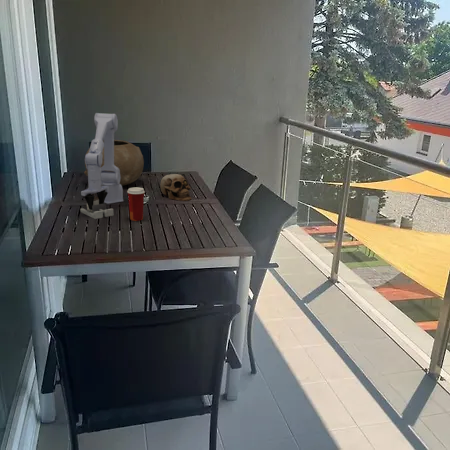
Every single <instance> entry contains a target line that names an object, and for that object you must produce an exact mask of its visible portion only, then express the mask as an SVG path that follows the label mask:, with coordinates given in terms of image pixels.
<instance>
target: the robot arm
mask: <svg viewBox="0 0 450 450" xmlns="http://www.w3.org/2000/svg"><path fill="white" fill-rule="evenodd" d="M93 118H94V119H93V121H94V125H95V127H96V128H95V129H96V131H95V137H94V139H92V140H91V141H90V142H91V143H90V146H89V148H90V150H89V153H88V154H86V153H85V155H86V156H85V157H84V165H85V164H86V168H87V170H88V176H87V182H88V183H87V185H88V187H87V188H86V189H84V190H81V191H80V195H81V196H83V199H85V202H86V205H87V204H88V207H89V209H90V210H92V205H93V201H94V197H95V195H93V194H96V195H97V197H98V198H99V204H104V203H105V204H106V205H110V204H114V203H115V204H116V203H120V202H121V203H122V202H124V201H125V200H124V197H123V196H124V194H123V193H124V191H123V186H121V184H120V170H119V168H118V167H116V166H115V165H114V140H115V132H117V131H118V127H119V124H118V123H119V121H118V116H117V114H116V113H103V112H102V113H101V112H100V113H99V112H95V114H94V117H93ZM103 140H104V142H103ZM103 148H104V166H102V167H101V165H102V157H103V155H102V152H103ZM86 168H85V169H86ZM112 171H114V172H112Z"/></svg>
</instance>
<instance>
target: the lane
mask: <svg viewBox="0 0 450 450" xmlns="http://www.w3.org/2000/svg"><path fill="white" fill-rule="evenodd" d="M104 211H106V212H108V214H105V213H104V214H103V211H96V212H93V213H91V212H89V211H87V209H85V208H80V213H81V214H84V215H86V216H87V217H90V218H92V219H94V220H96V219H102V218H104V217H105V218H107V217H113V216H114V208H108V209H107V208H106V210H104Z"/></svg>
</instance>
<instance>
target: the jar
mask: <svg viewBox="0 0 450 450" xmlns="http://www.w3.org/2000/svg"><path fill="white" fill-rule="evenodd" d="M94 196H95V195H94ZM98 204H99V198H98V196H95V197H94V201H93V205H98ZM86 210H87V211H89V212H91V213H93V212H92V210H90V209H89V207H88V204H87V203H86Z"/></svg>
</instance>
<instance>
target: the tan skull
mask: <svg viewBox="0 0 450 450" xmlns="http://www.w3.org/2000/svg"><path fill="white" fill-rule="evenodd" d="M159 188H160V191H161V193H162V194H163V195H164V196H165V197H168V199H169V200H173V201H180V202H186V201H187V202H188V201H191V200H192V197H191V195H190V190H191V189H192V188H191V186H190V185H189V182H188V180H187V179H185V177H184V176H182V174H177V173H171V174H166V175H164V176H163V177H162V178H161V181H160V187H159Z"/></svg>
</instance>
